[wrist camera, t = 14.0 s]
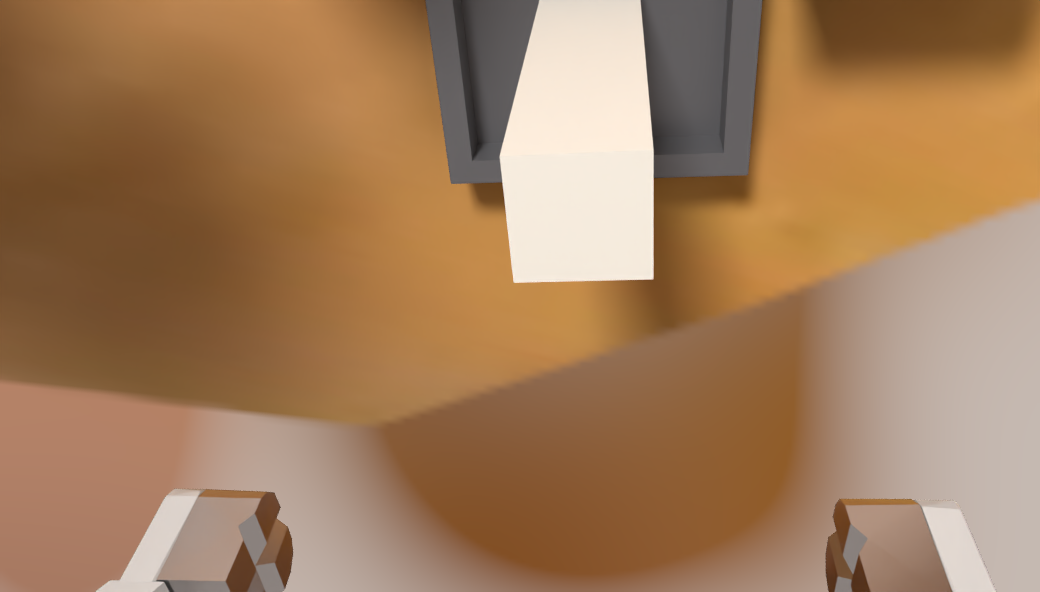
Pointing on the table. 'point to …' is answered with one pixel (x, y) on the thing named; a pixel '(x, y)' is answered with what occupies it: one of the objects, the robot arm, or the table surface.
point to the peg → (581, 147)
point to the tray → (670, 74)
